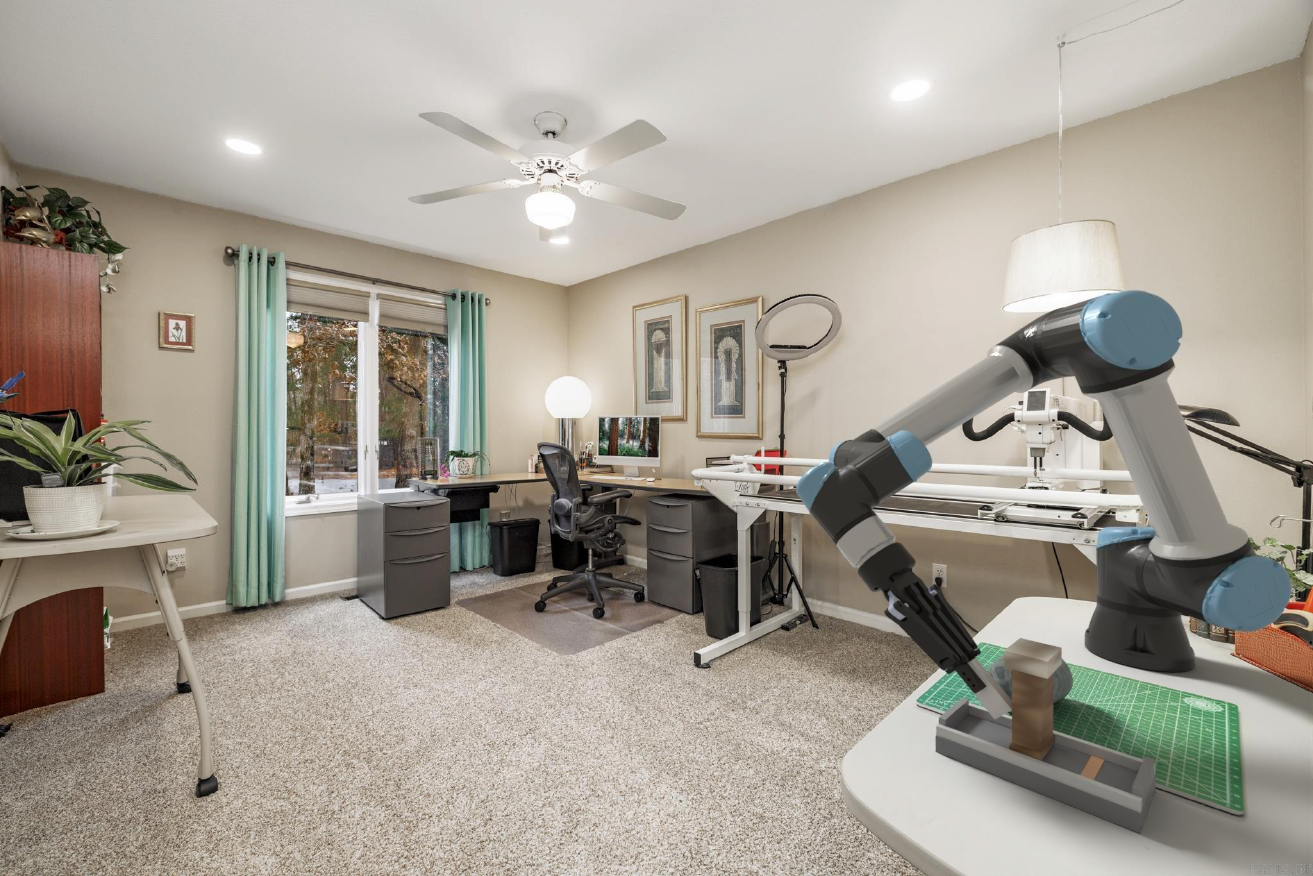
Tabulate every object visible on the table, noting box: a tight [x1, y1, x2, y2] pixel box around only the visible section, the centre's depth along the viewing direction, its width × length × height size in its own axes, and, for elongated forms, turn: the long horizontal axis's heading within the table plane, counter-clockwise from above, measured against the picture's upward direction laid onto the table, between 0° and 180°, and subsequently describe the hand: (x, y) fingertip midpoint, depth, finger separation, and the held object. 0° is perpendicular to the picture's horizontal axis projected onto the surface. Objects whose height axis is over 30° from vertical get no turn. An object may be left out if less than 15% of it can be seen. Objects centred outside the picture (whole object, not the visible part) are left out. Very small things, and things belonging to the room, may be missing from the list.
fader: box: [1003, 637, 1063, 761], centre depth 69 cm, size 4×7×12 cm, turn 132°
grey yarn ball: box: [987, 654, 1074, 714], centre depth 85 cm, size 14×10×10 cm
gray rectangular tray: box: [935, 696, 1156, 834], centre depth 69 cm, size 20×10×4 cm, turn 42°
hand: (1005, 712), depth 71 cm, fingers closed
